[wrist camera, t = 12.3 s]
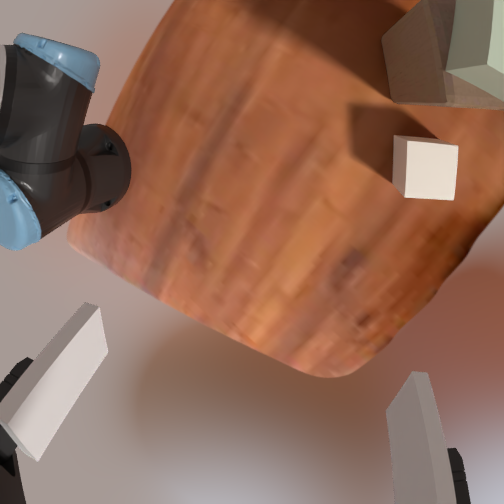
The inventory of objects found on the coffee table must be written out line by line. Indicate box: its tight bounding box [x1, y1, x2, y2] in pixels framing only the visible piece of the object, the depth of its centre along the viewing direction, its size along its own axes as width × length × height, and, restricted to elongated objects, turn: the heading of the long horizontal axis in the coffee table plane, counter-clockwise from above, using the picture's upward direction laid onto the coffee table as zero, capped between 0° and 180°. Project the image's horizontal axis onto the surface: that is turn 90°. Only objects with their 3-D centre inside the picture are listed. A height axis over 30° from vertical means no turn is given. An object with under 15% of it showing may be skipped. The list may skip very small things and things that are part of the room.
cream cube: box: [392, 135, 458, 200], centre depth 37 cm, size 7×7×7 cm
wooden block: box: [381, 0, 504, 111], centre depth 25 cm, size 10×10×20 cm
